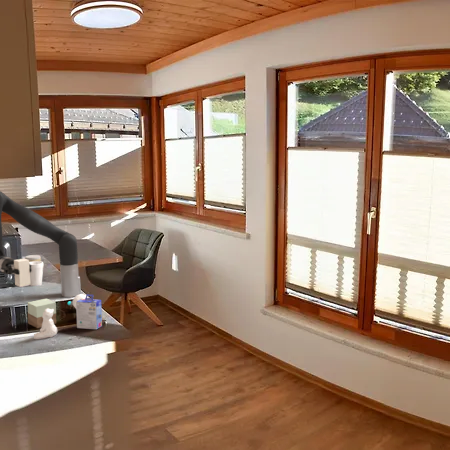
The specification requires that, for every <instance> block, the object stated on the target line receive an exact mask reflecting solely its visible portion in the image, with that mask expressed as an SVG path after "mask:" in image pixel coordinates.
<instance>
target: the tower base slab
mask: <svg viewBox="0 0 450 450" xmlns="http://www.w3.org/2000/svg"><path fill="white" fill-rule="evenodd" d="M52 320H53V322H54V325H55V324H57V312H56V313H55V314H53V316H52ZM42 323H43V318H42V317H38V318H37V317H35V316H33V315H31V314H29V313H28V312H27V324H28V325H31V326H32V327H34V328H37V329H41V328H42Z"/></svg>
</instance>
